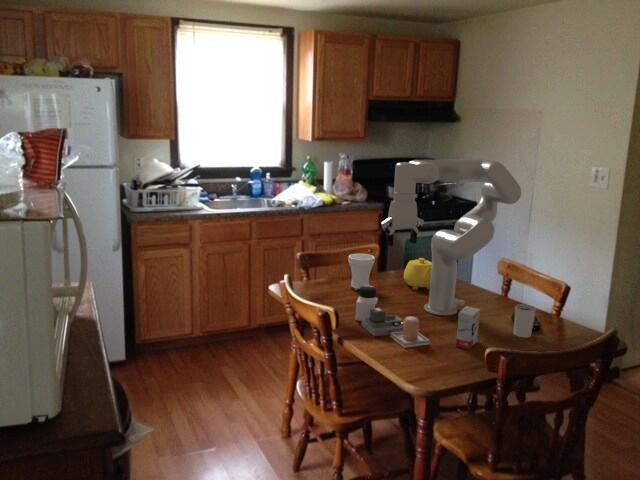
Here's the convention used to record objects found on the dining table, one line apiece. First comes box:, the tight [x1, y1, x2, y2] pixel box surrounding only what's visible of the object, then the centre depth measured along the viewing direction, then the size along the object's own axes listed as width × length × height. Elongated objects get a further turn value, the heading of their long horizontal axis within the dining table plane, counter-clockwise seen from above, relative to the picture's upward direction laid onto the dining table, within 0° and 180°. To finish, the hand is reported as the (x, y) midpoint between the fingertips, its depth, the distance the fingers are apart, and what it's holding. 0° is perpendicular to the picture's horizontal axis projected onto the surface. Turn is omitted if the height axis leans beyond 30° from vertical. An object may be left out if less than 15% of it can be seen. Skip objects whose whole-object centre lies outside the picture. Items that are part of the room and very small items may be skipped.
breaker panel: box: [361, 314, 404, 337], centre depth 203 cm, size 14×10×4 cm
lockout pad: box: [389, 331, 431, 348], centre depth 194 cm, size 10×10×1 cm
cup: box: [348, 253, 376, 292], centre depth 246 cm, size 11×11×14 cm
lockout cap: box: [403, 315, 420, 342], centre depth 193 cm, size 5×5×7 cm
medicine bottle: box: [355, 285, 379, 322], centre depth 212 cm, size 7×7×12 cm
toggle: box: [370, 307, 386, 323], centre depth 201 cm, size 4×4×5 cm
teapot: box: [403, 257, 432, 291], centre depth 251 cm, size 14×20×13 cm
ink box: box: [455, 305, 481, 350], centre depth 192 cm, size 9×5×12 cm, turn 148°
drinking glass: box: [513, 303, 537, 338], centre depth 202 cm, size 7×7×10 cm
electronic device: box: [510, 312, 542, 332], centre depth 213 cm, size 9×6×15 cm
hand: (401, 244), depth 210 cm, fingers open, 9 cm apart
